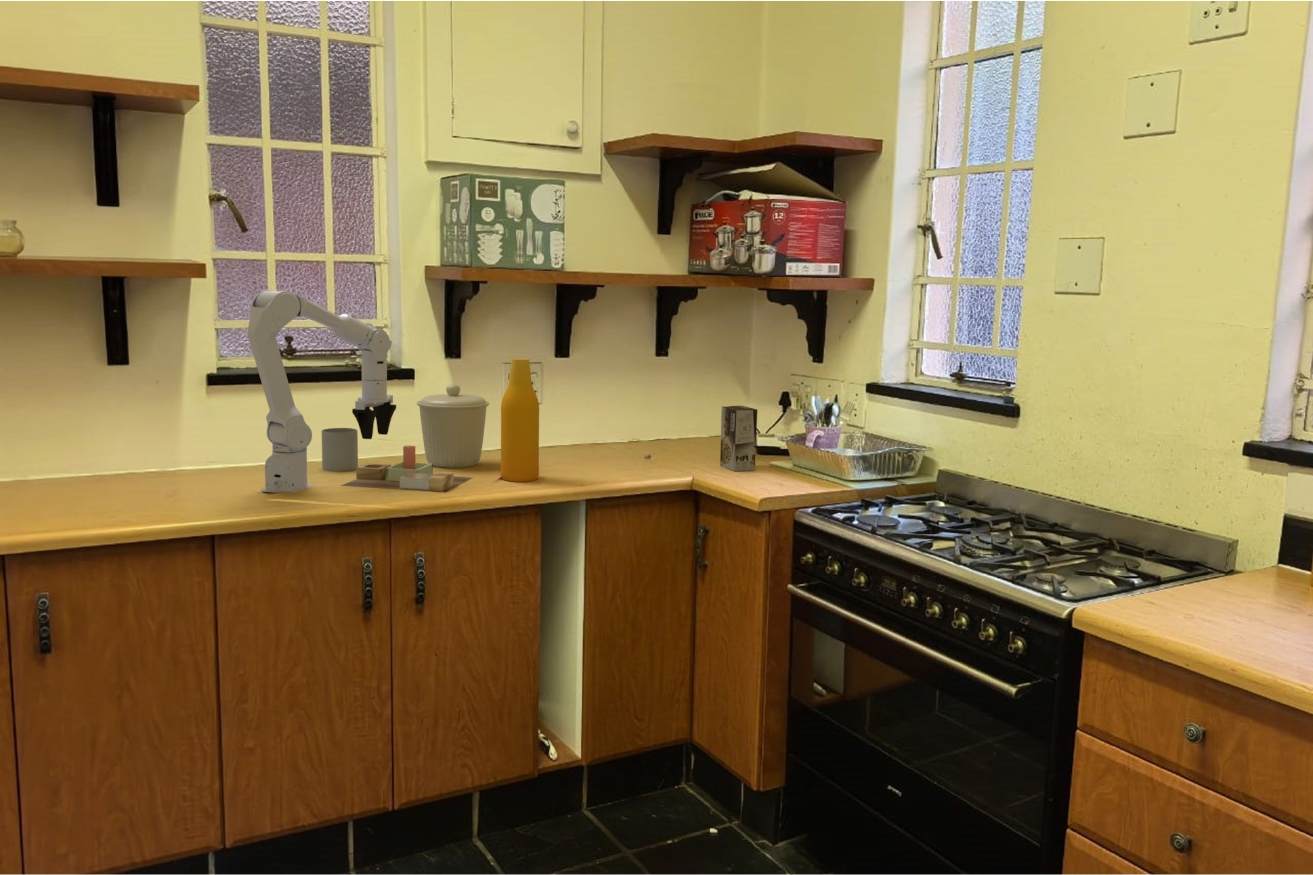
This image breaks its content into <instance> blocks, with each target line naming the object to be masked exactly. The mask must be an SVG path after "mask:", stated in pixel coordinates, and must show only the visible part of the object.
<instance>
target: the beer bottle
mask: <svg viewBox="0 0 1313 875" xmlns="http://www.w3.org/2000/svg"><path fill="white" fill-rule="evenodd" d="M508 378H509V380H508V385H507V388H506V389H505V391H504V394H503V395H502V399H501V403H500V478H501V479H502V480H503V481H507V482H513V483H514V482H515V483H525V482H526V483H528V482H533V481H536V480H538V479H539V476H540V462H539V461H540V460H539V459H540V402H539V399H538V395H537V394H536V391H535V389H534V387H533V382H532V372H531V364H530V358H522V357H520V358H516V357H515V358H511V361H510V370H509V377H508Z"/></svg>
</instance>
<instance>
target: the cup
mask: <svg viewBox="0 0 1313 875" xmlns="http://www.w3.org/2000/svg"><path fill="white" fill-rule="evenodd" d="M358 440H359V438H358V429H357V428H350V427H332V428H331V427H330V428H324V429H322V430H321V464H322V466H321V467H322V468H321V469H323V471H329V472H348V471H355V470H356V468H357V467H359V446H358V442H359V441H358Z"/></svg>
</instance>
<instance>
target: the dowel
mask: <svg viewBox="0 0 1313 875" xmlns="http://www.w3.org/2000/svg"><path fill="white" fill-rule="evenodd" d="M402 450H403V451H402V454H403V456H402V458H403V460H402V462H403V469H416V463H417V462H416V445H404V446H402Z"/></svg>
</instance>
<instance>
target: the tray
mask: <svg viewBox="0 0 1313 875" xmlns="http://www.w3.org/2000/svg"><path fill="white" fill-rule="evenodd" d="M385 470H386V480H387V481H400V477H402V476H404V475H406V474H409V473H422V474H434V471H433V470H434V466H433V464H431V463H428V462H416V469H403V461H399V462H397V463H395V464H393V465H391V466H390V467H387V468H385Z"/></svg>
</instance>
